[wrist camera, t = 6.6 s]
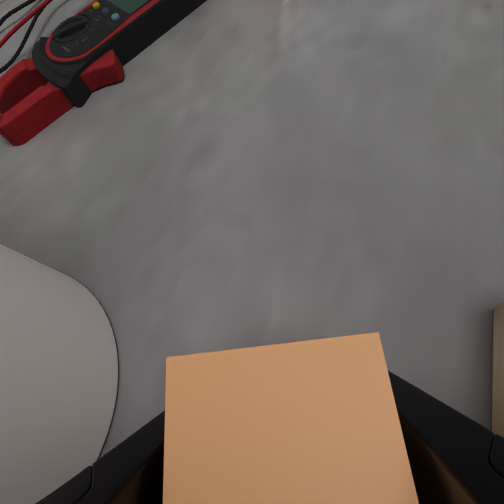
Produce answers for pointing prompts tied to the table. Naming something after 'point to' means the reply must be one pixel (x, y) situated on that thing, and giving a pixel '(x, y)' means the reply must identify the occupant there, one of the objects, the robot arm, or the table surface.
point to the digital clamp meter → (78, 59)
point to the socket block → (498, 372)
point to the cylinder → (50, 378)
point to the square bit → (285, 426)
